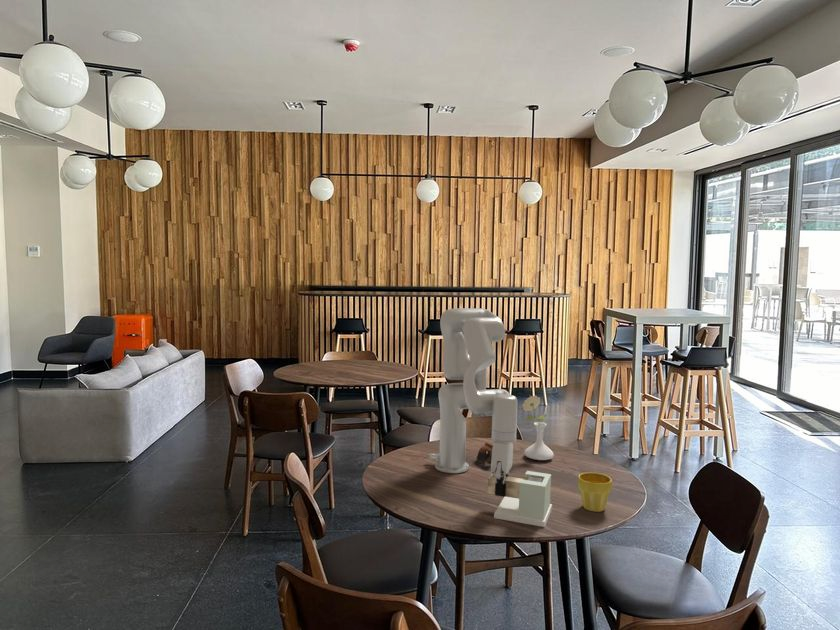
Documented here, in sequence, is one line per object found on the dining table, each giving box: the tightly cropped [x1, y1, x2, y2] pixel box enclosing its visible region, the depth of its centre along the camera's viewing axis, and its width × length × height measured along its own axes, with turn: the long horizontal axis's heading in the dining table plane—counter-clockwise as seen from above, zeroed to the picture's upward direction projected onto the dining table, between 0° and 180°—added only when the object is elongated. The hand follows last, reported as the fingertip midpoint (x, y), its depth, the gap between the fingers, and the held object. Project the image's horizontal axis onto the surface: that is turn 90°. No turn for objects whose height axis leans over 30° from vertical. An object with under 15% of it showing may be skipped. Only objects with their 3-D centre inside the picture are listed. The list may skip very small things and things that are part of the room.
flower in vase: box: [521, 395, 555, 461], centre depth 235 cm, size 13×11×25 cm
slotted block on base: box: [493, 470, 553, 528], centre depth 183 cm, size 15×14×12 cm
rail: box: [487, 473, 543, 499], centre depth 183 cm, size 16×4×6 cm, turn 69°
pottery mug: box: [475, 442, 493, 466], centre depth 229 cm, size 12×10×8 cm
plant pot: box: [577, 471, 613, 513], centre depth 188 cm, size 10×10×10 cm
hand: (501, 492), depth 185 cm, fingers closed on rail, 3 cm apart
